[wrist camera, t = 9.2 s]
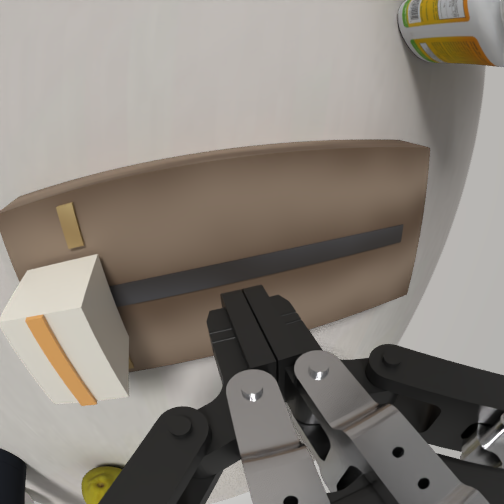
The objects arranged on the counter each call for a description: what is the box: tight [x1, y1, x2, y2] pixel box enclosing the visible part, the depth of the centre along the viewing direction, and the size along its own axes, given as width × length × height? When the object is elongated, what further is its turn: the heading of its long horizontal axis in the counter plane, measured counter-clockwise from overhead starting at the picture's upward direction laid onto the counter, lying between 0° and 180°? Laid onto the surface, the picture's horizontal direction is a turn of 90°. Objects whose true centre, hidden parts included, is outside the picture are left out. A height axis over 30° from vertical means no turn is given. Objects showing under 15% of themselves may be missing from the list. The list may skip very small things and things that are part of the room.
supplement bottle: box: [398, 0, 504, 67], centre depth 10 cm, size 5×5×10 cm
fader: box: [0, 254, 129, 406], centre depth 11 cm, size 5×4×4 cm
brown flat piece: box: [0, 140, 430, 372], centre depth 16 cm, size 11×24×3 cm, turn 95°
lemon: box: [82, 466, 122, 504], centre depth 22 cm, size 11×8×8 cm
